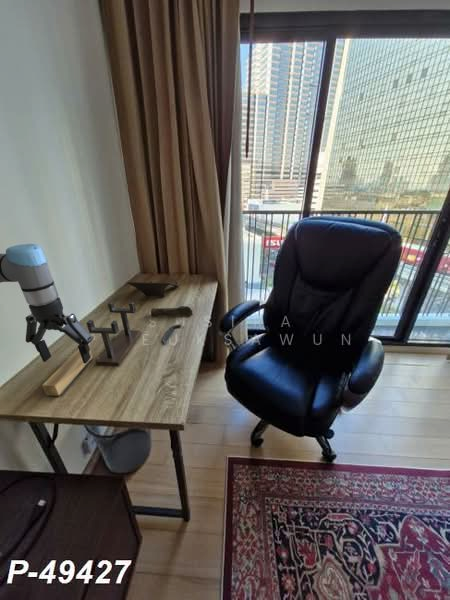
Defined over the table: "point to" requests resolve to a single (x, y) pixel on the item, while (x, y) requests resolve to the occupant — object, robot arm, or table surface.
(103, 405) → the table surface
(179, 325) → the knife
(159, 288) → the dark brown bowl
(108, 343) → the tool rack
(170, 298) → the table surface
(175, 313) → the hand tool
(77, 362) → the wooden block
